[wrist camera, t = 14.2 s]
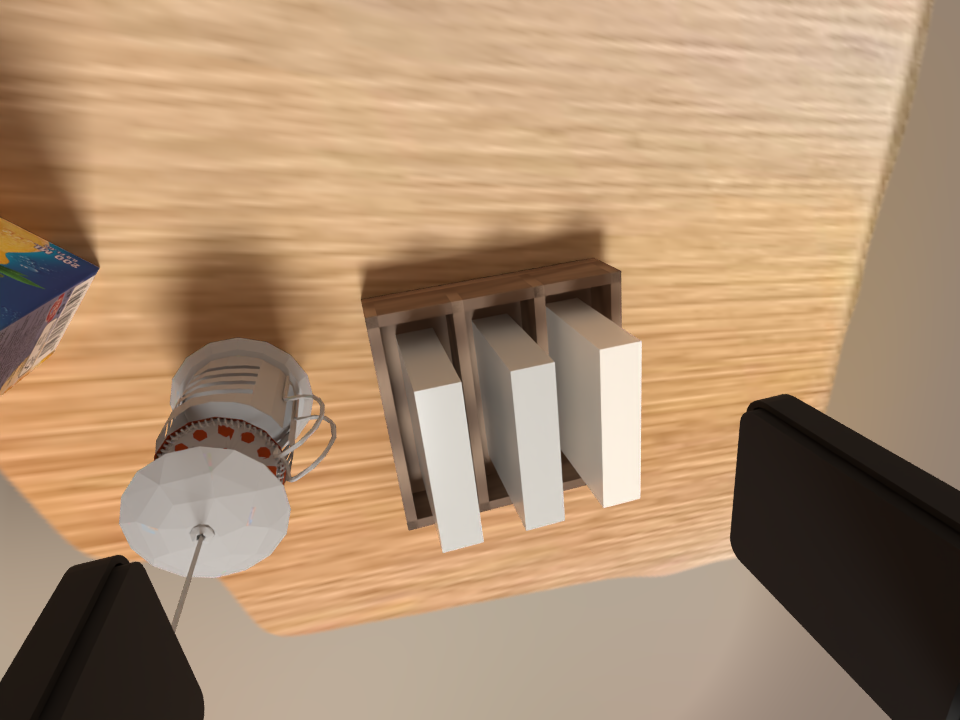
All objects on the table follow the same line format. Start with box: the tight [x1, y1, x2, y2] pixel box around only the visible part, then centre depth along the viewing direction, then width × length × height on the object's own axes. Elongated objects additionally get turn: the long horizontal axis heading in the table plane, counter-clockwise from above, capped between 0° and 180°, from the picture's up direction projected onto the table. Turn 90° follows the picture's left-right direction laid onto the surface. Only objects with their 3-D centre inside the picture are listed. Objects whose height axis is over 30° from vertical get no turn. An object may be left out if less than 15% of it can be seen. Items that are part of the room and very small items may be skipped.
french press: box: [119, 338, 336, 633], centre depth 30 cm, size 10×12×25 cm
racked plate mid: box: [472, 314, 565, 531], centre depth 40 cm, size 12×3×10 cm, turn 7°
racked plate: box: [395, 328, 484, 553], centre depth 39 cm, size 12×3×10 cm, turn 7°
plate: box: [545, 298, 642, 508], centre depth 41 cm, size 12×3×10 cm, turn 6°
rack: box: [361, 258, 622, 530], centre depth 44 cm, size 18×18×4 cm
